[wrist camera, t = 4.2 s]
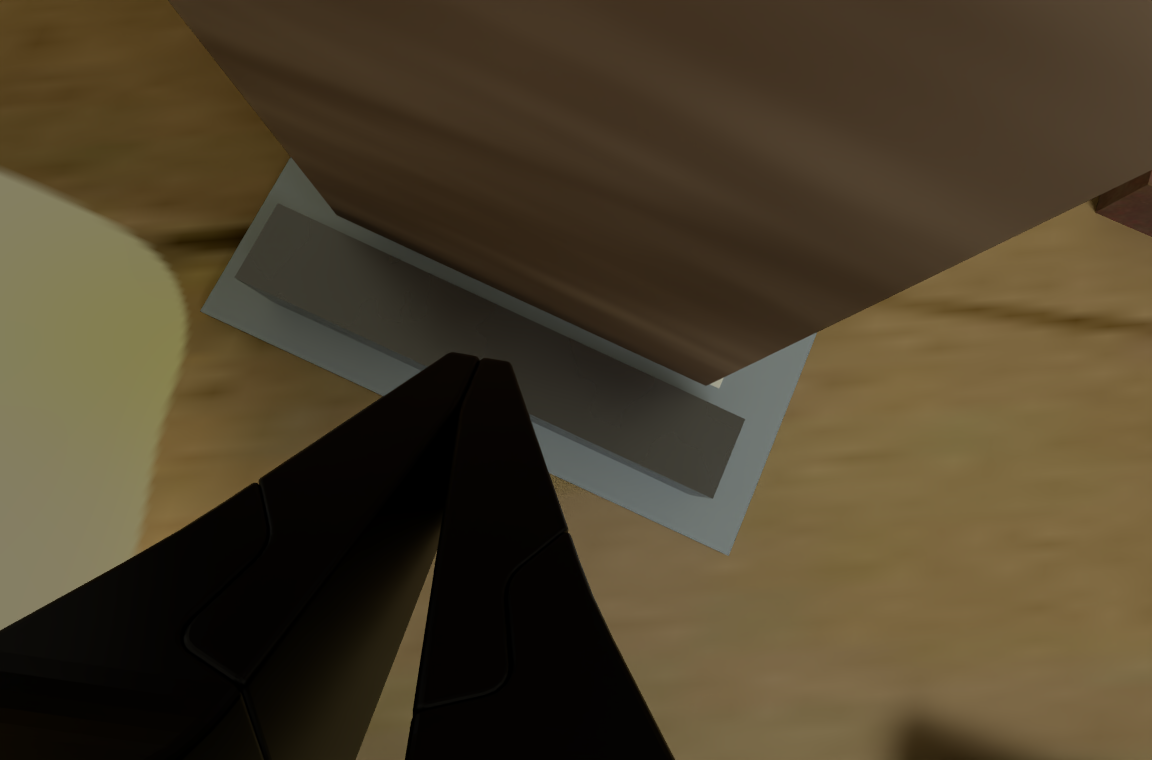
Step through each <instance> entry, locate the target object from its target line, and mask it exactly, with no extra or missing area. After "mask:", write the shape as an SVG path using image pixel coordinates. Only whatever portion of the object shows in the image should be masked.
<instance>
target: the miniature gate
mask: <svg viewBox="0 0 1152 760" xmlns="http://www.w3.org/2000/svg"><path fill="white" fill-rule="evenodd" d="M1095 213H1098V214H1100V215H1102V216H1105V217H1107V218H1109V219H1112V220H1114V221H1116V222H1119V223H1121V224H1123V225H1126V226H1128V227H1130V228H1133V229H1135V230H1137V231H1140V232H1142V233H1144V234H1147V235H1149V236H1151V237H1152V170H1150V171H1148V172H1146V173H1144V174H1142V175H1140V176H1138V177H1136V178H1134V179H1132V180H1130V181H1128V182H1126V183H1124V184H1122V185H1120V186H1117V187H1115V188H1113V189H1111V190H1109V191H1107V192H1105V193H1103V194H1101V195H1100V198H1099V201H1098V205H1097V208H1096V212H1095Z"/></svg>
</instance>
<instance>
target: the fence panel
mask: <svg viewBox="0 0 1152 760" xmlns="http://www.w3.org/2000/svg"><path fill="white" fill-rule="evenodd" d="M168 1H169V2H170V4H171V5H172V6H173V7H174V9H175V10H176V11H177V12H178V14H179V15H180V16H181V18H182V19H183V20H184V21H185V23H186V24H187V25H188V26H189V28H190V29H191V30H192V32H193V33H194V34H195V35H196V37H197V38H198V39H199V41H200V42H201V43H202V44H203V46H204V47H205V48H206V49H207V51H208V52H209V53H210V55H211V56H212V57H213V58H214V60H215V61H216V62H217V63H218V65H219V66H220V67H221V69H222V70H223V71H224V72H225V74H226V75H227V76H228V77H229V79H230V80H231V81H232V83H233V84H234V85H235V86H236V88H237V89H238V90H239V91H240V93H241V94H242V95H243V97H244V98H245V99H246V100H247V102H248V103H249V104H250V105H251V107H252V108H253V109H254V111H255V112H256V113H257V114H258V116H259V117H260V118H261V119H262V121H263V122H264V123H265V125H266V126H267V127H268V128H269V130H270V131H271V132H272V133H273V135H274V136H275V137H276V139H277V140H278V141H279V142H280V144H281V145H282V146H283V147H284V149H285V150H286V151H287V153H288V154H289V155H290V156H291V158H292V159H293V160H294V162H295V163H296V164H297V165H298V167H299V168H300V169H301V170H302V172H303V173H304V174H305V176H306V177H307V178H308V179H309V181H310V182H311V183H312V184H313V186H314V187H315V188H316V190H317V191H318V192H319V193H320V195H321V196H322V197H323V198H324V200H325V201H326V202H327V204H328V205H329V206H330V207H331V209H332V210H333V211H334V212H335V214H336V215H337V216H339V217H341V218H344V219H346V220H348V221H350V222H352V223H354V224H357V225H359V226H361V227H363V228H365V229H367V230H370V231H372V232H374V233H376V234H378V235H380V236H383V237H385V238H387V239H389V240H391V241H393V242H396V243H398V244H400V245H402V246H404V247H406V248H409V249H411V250H413V251H415V252H417V253H419V254H422V255H424V256H426V257H428V258H430V259H432V260H434V261H437V262H439V263H441V264H443V265H445V266H447V267H450V268H452V269H454V270H456V271H458V272H460V273H463V274H465V275H467V276H469V277H471V278H473V279H476V280H478V281H480V282H482V283H484V284H486V285H489V286H491V287H493V288H495V289H497V290H499V291H502V292H504V293H506V294H508V295H510V296H512V297H515V298H517V299H519V300H521V301H523V302H525V303H527V304H530V305H532V306H534V307H536V308H538V309H540V310H543V311H545V312H547V313H549V314H551V315H553V316H556V317H558V318H560V319H562V320H564V321H566V322H569V323H571V324H573V325H575V326H577V327H579V328H582V329H584V330H586V331H588V332H590V333H592V334H595V335H597V336H599V337H601V338H603V339H605V340H608V341H610V342H612V343H614V344H616V345H618V346H621V347H623V348H625V349H627V350H629V351H631V352H633V353H636V354H638V355H640V356H642V357H644V358H646V359H649V360H651V361H653V362H655V363H657V364H659V365H662V366H664V367H666V368H668V369H670V370H672V371H675V372H677V373H679V374H681V375H683V376H685V377H688V378H690V379H692V380H694V381H696V382H698V383H701V384H703V385H705V386H707V385H709V384H711V383H713V382H716V381H718V380H720V379H722V378H724V377H726V376H728V375H730V374H732V373H734V372H736V371H738V370H740V369H742V368H744V367H746V366H748V365H751V364H753V363H755V362H757V361H759V360H761V359H763V358H765V357H767V356H769V355H771V354H773V353H775V352H777V351H779V350H781V349H784V348H786V347H788V346H790V345H792V344H794V343H796V342H798V341H800V340H802V339H804V338H806V337H808V336H810V335H812V334H814V333H817V332H819V331H821V330H823V329H825V328H827V327H829V326H831V325H833V324H835V323H837V322H839V321H841V320H843V319H845V318H847V317H850V316H852V315H854V314H856V313H858V312H860V311H862V310H864V309H866V308H868V307H870V306H872V305H874V304H876V303H878V302H880V301H882V300H885V299H887V298H889V297H891V296H893V295H895V294H897V293H899V292H901V291H903V290H905V289H907V288H909V287H911V286H913V285H915V284H918V283H920V282H922V281H924V280H926V279H928V278H930V277H932V276H934V275H936V274H938V273H940V272H942V271H944V270H946V269H948V268H951V267H953V266H955V265H957V264H959V263H961V262H963V261H965V260H967V259H969V258H971V257H973V256H975V255H977V254H979V253H981V252H983V251H986V250H988V249H990V248H992V247H994V246H996V245H998V244H1000V243H1002V242H1004V241H1006V240H1008V239H1010V238H1012V237H1014V236H1016V235H1019V234H1021V233H1023V232H1025V231H1027V230H1029V229H1031V228H1033V227H1035V226H1037V225H1039V224H1041V223H1043V222H1045V221H1047V220H1049V219H1052V218H1054V217H1056V216H1058V215H1060V214H1062V213H1064V212H1066V211H1068V210H1070V209H1072V208H1074V207H1076V206H1078V205H1080V204H1082V203H1085V202H1087V201H1089V200H1091V199H1093V198H1095V197H1097V196H1099V195H1101V194H1103V193H1105V192H1107V191H1109V190H1111V189H1113V188H1115V187H1117V186H1120V185H1122V184H1124V183H1126V182H1128V181H1130V180H1132V179H1134V178H1136V177H1138V176H1140V175H1142V174H1144V173H1146V172H1148V171H1150V170H1152V0H168Z"/></svg>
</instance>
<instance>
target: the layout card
mask: <svg viewBox="0 0 1152 760" xmlns="http://www.w3.org/2000/svg"><path fill="white" fill-rule="evenodd" d="M278 203H279V204H281V205H283V206H285V207H288V208H290V209H292V210H294V211H296V212H298V213H301V214H303V215H305V216H307V217H309V218H311V219H314V220H316V221H318V222H320V223H322V224H324V225H327V226H329V227H331V228H333V229H335V230H337V231H339V232H342V233H344V234H346V235H348V236H350V237H352V238H355V239H357V240H359V241H361V242H363V243H365V244H368V245H370V246H372V247H374V248H376V249H378V250H381V251H383V252H385V253H387V254H389V255H391V256H394V257H396V258H398V259H400V260H402V261H404V262H407V263H409V264H411V265H413V266H415V267H417V268H420V269H422V270H424V271H426V272H428V273H430V274H432V275H435V276H437V277H439V278H441V279H443V280H445V281H448V282H450V283H452V284H454V285H456V286H458V287H461V288H463V289H465V290H467V291H469V292H471V293H474V294H476V295H478V296H480V297H482V298H484V299H487V300H489V301H491V302H493V303H495V304H497V305H500V306H502V307H504V308H506V309H508V310H510V311H513V312H515V313H517V314H519V315H521V316H523V317H525V318H528V319H530V320H532V321H534V322H536V323H538V324H541V325H543V326H545V327H547V328H549V329H551V330H554V331H556V332H558V333H560V334H562V335H564V336H567V337H569V338H571V339H573V340H575V341H577V342H580V343H582V344H584V345H586V346H588V347H590V348H593V349H595V350H597V351H599V352H601V353H603V354H606V355H608V356H610V357H612V358H614V359H616V360H618V361H621V362H623V363H625V364H627V365H629V366H631V367H634V368H636V369H638V370H640V371H642V372H644V373H647V374H649V375H651V376H653V377H655V378H657V379H660V380H662V381H664V382H666V383H668V384H670V385H673V386H675V387H677V388H679V389H681V390H683V391H686V392H688V393H690V394H692V395H694V396H696V397H699V398H701V399H703V400H705V401H707V402H709V403H711V404H714V405H716V406H718V407H720V408H722V409H724V410H727V411H729V412H731V413H733V414H735V415H737V416H740V417H742V418H744V419H745V421H744V424H743V426H742V429H741V431H740V434H739V436H738V439H737V441H736V443H735V446H734V448H733V451H732V453H731V456H730V458H729V461H728V463H727V466H726V468H725V471H724V473H723V475H722V478H721V480H720V483H719V485H718V488H717V490H716V493H715V495H714V498H713V499H711V498H705V497H698V496H692V495H689V494H687V493H685V492H682V491H680V490H678V489H676V488H674V487H672V486H669V485H667V484H665V483H663V482H661V481H659V480H656V479H654V478H652V477H650V476H648V475H646V474H644V473H641V472H639V471H637V470H635V469H633V468H631V467H628V466H626V465H624V464H622V463H620V462H618V461H615V460H613V459H611V458H609V457H607V456H605V455H602V454H600V453H598V452H596V451H594V450H592V449H589V448H587V447H585V446H583V445H581V444H579V443H576V442H574V441H572V440H570V439H568V438H566V437H564V436H561V435H559V434H557V433H555V432H553V431H551V430H548V429H546V428H544V427H542V426H540V425H538V424H535V423H533V422H532V425H533V428H534V431H535V434H536V437H537V439H538V442H539V445H540V448H541V451H542V454H543V457H544V460H545V463H546V466H547V469H548V472H549V473H551V474H553V475H555V476H557V477H559V478H561V479H564V480H566V481H568V482H570V483H572V484H574V485H577V486H579V487H581V488H583V489H585V490H587V491H590V492H592V493H594V494H596V495H598V496H600V497H603V498H605V499H607V500H609V501H611V502H613V503H616V504H618V505H620V506H622V507H624V508H626V509H628V510H631V511H633V512H635V513H637V514H639V515H641V516H644V517H646V518H648V519H650V520H652V521H654V522H657V523H659V524H661V525H663V526H665V527H667V528H670V529H672V530H674V531H676V532H678V533H680V534H683V535H685V536H687V537H689V538H691V539H693V540H695V541H698V542H700V543H702V544H704V545H706V546H708V547H711V548H713V549H715V550H717V551H719V552H721V553H724V554H726V555H728V556H729V553H730V551H731V548H732V546H733V543H734V541H735V538H736V536H737V533H738V531H739V528H740V526H741V523H742V521H743V518H744V516H745V513H746V511H747V508H748V505H749V503H750V500H751V498H752V495H753V493H754V490H755V488H756V485H757V483H758V480H759V478H760V475H761V473H762V470H763V468H764V465H765V463H766V460H767V457H768V455H769V452H770V450H771V447H772V445H773V442H774V440H775V437H776V435H777V432H778V430H779V427H780V425H781V422H782V420H783V417H784V415H785V412H786V410H787V407H788V404H789V402H790V399H791V397H792V394H793V392H794V389H795V387H796V384H797V382H798V379H799V377H800V374H801V372H802V369H803V367H804V364H805V362H806V359H807V356H808V354H809V351H810V349H811V346H812V344H813V341H814V339H815V336H816V334H817V333H814V334H812V335H810V336H808V337H806V338H804V339H802V340H800V341H798V342H796V343H794V344H792V345H790V346H788V347H786V348H784V349H781V350H779V351H777V352H775V353H773V354H771V355H769V356H767V357H765V358H763V359H761V360H759V361H757V362H755V363H753V364H751V365H748V366H746V367H744V368H742V369H740V370H738V371H736V372H734V373H732V374H730V375H728V376H726V377H724V378H722V379H720V380H718V381H716V382H713V383H711V384H709V385H707V386H705V385H703V384H701V383H698V382H696V381H694V380H692V379H690V378H688V377H685V376H683V375H681V374H679V373H677V372H675V371H672V370H670V369H668V368H666V367H664V366H662V365H659V364H657V363H655V362H653V361H651V360H649V359H646V358H644V357H642V356H640V355H638V354H636V353H633V352H631V351H629V350H627V349H625V348H623V347H621V346H618V345H616V344H614V343H612V342H610V341H608V340H605V339H603V338H601V337H599V336H597V335H595V334H592V333H590V332H588V331H586V330H584V329H582V328H579V327H577V326H575V325H573V324H571V323H569V322H566V321H564V320H562V319H560V318H558V317H556V316H553V315H551V314H549V313H547V312H545V311H543V310H540V309H538V308H536V307H534V306H532V305H530V304H527V303H525V302H523V301H521V300H519V299H517V298H515V297H512V296H510V295H508V294H506V293H504V292H502V291H499V290H497V289H495V288H493V287H491V286H489V285H486V284H484V283H482V282H480V281H478V280H476V279H473V278H471V277H469V276H467V275H465V274H463V273H460V272H458V271H456V270H454V269H452V268H450V267H447V266H445V265H443V264H441V263H439V262H437V261H434V260H432V259H430V258H428V257H426V256H424V255H422V254H419V253H417V252H415V251H413V250H411V249H409V248H406V247H404V246H402V245H400V244H398V243H396V242H393V241H391V240H389V239H387V238H385V237H383V236H380V235H378V234H376V233H374V232H372V231H370V230H367V229H365V228H363V227H361V226H359V225H357V224H354V223H352V222H350V221H348V220H346V219H344V218H341V217H339V216H337V215H336V214H335V212H334V211H333V210H332V209H331V207H330V206H329V205H328V204H327V202H326V201H325V200H324V198H323V197H322V196H321V195H320V193H319V192H318V191H317V190H316V188H315V187H314V186H313V184H312V183H311V182H310V181H309V179H308V178H307V177H306V176H305V174H304V173H303V172H302V170H301V169H300V168H299V167H298V165H297V164H296V163H295V162H294V160H293V159H292V158H291V157H290V159H289V161H288V162H287V164H286V166H285V168H284V169H283V171H282V173H281V174H280V176H279V178H278V179H277V181H276V183H275V185H274V186H273V188H272V190H271V191H270V193H269V195H268V196H267V198H266V200H265V202H264V203H263V205H262V207H261V208H260V210H259V212H258V213H257V215H256V217H255V219H254V220H253V222H252V224H251V225H250V227H249V229H248V231H247V232H246V234H245V236H244V237H243V239H242V241H241V242H240V244H239V246H238V248H237V249H236V251H235V253H234V254H233V256H232V258H231V259H230V261H229V263H228V265H227V266H226V268H225V270H224V271H223V273H222V275H221V276H220V278H219V280H218V282H217V283H216V285H215V287H214V288H213V290H212V292H211V293H210V295H209V297H208V299H207V300H206V302H205V304H204V305H203V307H202V309H201V310H200V311H201V312H203V313H205V314H207V315H209V316H211V317H213V318H216V319H218V320H220V321H222V322H224V323H226V324H229V325H231V326H233V327H235V328H237V329H239V330H242V331H244V332H246V333H248V334H250V335H252V336H255V337H257V338H259V339H261V340H263V341H265V342H268V343H270V344H272V345H274V346H276V347H278V348H280V349H283V350H285V351H287V352H289V353H291V354H293V355H296V356H298V357H300V358H302V359H304V360H306V361H309V362H311V363H313V364H315V365H317V366H319V367H322V368H324V369H326V370H328V371H330V372H332V373H335V374H337V375H339V376H341V377H343V378H345V379H347V380H350V381H352V382H354V383H356V384H358V385H360V386H363V387H365V388H367V389H369V390H371V391H373V392H376V393H378V394H380V395H382V396H384V395H386V394H387V393H389V392H390V391H392V390H393V389H395V388H396V387H398V386H400V385H401V384H403V383H404V382H406V381H407V380H409V379H410V378H412V377H413V376H415V375H416V374H418V373H419V372H421V370H419V369H417V368H414V367H412V366H410V365H408V364H406V363H404V362H401V361H399V360H397V359H395V358H393V357H391V356H388V355H386V354H384V353H382V352H380V351H378V350H375V349H373V348H371V347H369V346H367V345H365V344H362V343H360V342H358V341H356V340H354V339H352V338H349V337H347V336H345V335H343V334H341V333H339V332H337V331H334V330H332V329H330V328H328V327H326V326H324V325H321V324H319V323H317V322H315V321H313V320H311V319H308V318H306V317H304V316H302V315H300V314H298V313H295V312H293V311H291V310H289V309H287V308H285V307H282V306H280V305H278V304H276V303H274V302H272V301H270V300H269V299H267V298H266V297H264V296H262V295H261V294H259V293H258V292H256V291H255V290H253V289H252V288H250V287H248V286H247V285H245V284H244V283H242V282H241V281H239V280H238V279H236V278H234V277H235V276H236V274H237V272H238V270H239V269H240V267H241V265H242V264H243V262H244V260H245V258H246V257H247V255H248V253H249V252H250V250H251V248H252V246H253V245H254V243H255V241H256V240H257V238H258V236H259V234H260V233H261V231H262V229H263V228H264V226H265V224H266V222H267V221H268V219H269V217H270V216H271V214H272V212H273V210H274V209H275V207H276V205H277V204H278Z"/></svg>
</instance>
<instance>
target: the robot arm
mask: <svg viewBox="0 0 1152 760" xmlns="http://www.w3.org/2000/svg"><path fill="white" fill-rule="evenodd" d="M436 551H437V555H436V561H435V568H434V575H433V581H432V588H431V594H430V601H429V607H428V614H427V621H426V627H425V634H424V640H423V647H422V653H421V660H420V667H419V673H418V680H417V686H416V693H415V699H414V706H413V718H412V721H411V726H410V732H409V738H408V744H407V750H406V756H405V760H675V758H674V756H673V755H672V753H671V751H670V749H669V747H668V745H667V743H666V741H665V739H664V737H663V735H662V733H661V731H660V729H659V727H658V726H657V724H656V722H655V720H654V718H653V716H652V714H651V712H650V710H649V708H648V706H647V704H646V702H645V700H644V698H643V696H642V694H641V692H640V690H639V688H638V686H637V684H636V682H635V680H634V678H633V676H632V675H631V673H630V671H629V669H628V667H627V665H626V663H625V661H624V659H623V657H622V655H621V653H620V651H619V649H618V647H617V645H616V643H615V641H614V639H613V637H612V635H611V633H610V631H609V629H608V626H607V624H606V622H605V620H604V618H603V616H602V614H601V612H600V609H599V607H598V605H597V603H596V601H595V599H594V597H593V594H592V592H591V589H590V586H589V584H588V581H587V579H586V576H585V574H584V571H583V568H582V566H581V563H580V561H579V558H578V555H577V552H576V549H575V546H574V543H573V540H572V538H571V535H570V534H569V533H568V527H567V524H566V521H565V518H564V515H563V512H562V509H561V507H560V504H559V501H558V498H557V495H556V492H555V489H554V486H553V483H552V480H551V477H550V474H549V472H548V469H547V466H546V463H545V460H544V457H543V454H542V451H541V448H540V445H539V442H538V439H537V437H536V434H535V431H534V428H533V425H532V422H531V419H530V416H529V413H528V410H527V407H526V405H525V402H524V399H523V396H522V393H521V390H520V387H519V384H518V381H517V378H516V375H515V372H514V370H513V367H512V365H511V363H510V362H508V361H503V360H497V359H491V358H483V359H481V360H479V358H478V357H477V356H474V355H468V354H462V353H456V352H450V353H448V354H446V355H445V356H443V357H442V358H440V359H439V360H437V361H436V362H434V363H433V364H431V365H430V366H428V367H427V368H425V369H424V370H422V371H421V372H419V373H418V374H416V375H415V376H413V377H412V378H410V379H409V380H407V381H406V382H404V383H403V384H401V385H400V386H398V387H396V388H395V389H393V390H392V391H390V392H389V393H387V394H386V395H384V396H383V397H381V398H380V399H378V400H377V401H375V402H374V403H372V404H371V405H369V406H368V407H366V408H365V409H363V410H362V411H360V412H359V413H357V414H356V415H354V416H353V417H351V418H350V419H348V420H347V421H345V422H344V423H342V424H341V425H339V426H338V427H336V428H335V429H333V430H332V431H330V432H329V433H327V434H326V435H324V436H323V437H321V438H320V439H318V440H317V441H315V442H314V443H312V444H311V445H309V446H308V447H306V448H305V449H303V450H302V451H300V452H299V453H297V454H296V455H294V456H293V457H291V458H290V459H288V460H287V461H285V462H284V463H282V464H281V465H279V466H278V467H276V468H275V469H273V470H272V471H270V472H269V473H267V474H266V475H264V476H263V477H261V478H260V479H259V484H257V483H252V484H250V485H249V486H247V487H246V488H244V489H243V490H241V491H240V492H238V493H237V494H235V495H234V496H232V497H231V498H229V499H228V500H226V501H225V502H223V503H222V504H220V505H219V506H217V507H215V508H214V509H212V510H211V511H209V512H208V513H206V514H204V515H203V516H201V517H200V518H198V519H196V520H195V521H193V522H192V523H190V524H189V525H187V526H185V527H184V528H182V529H181V530H179V531H177V532H176V533H174V534H172V535H170V536H169V537H167V538H165V539H163V540H162V541H160V542H158V543H156V544H155V545H153V546H151V547H149V548H148V549H146V550H144V551H143V552H141V553H139V554H137V555H136V556H134V557H132V558H130V559H129V560H127V561H125V562H124V563H122V564H120V565H118V566H116V567H114V568H113V569H111V570H109V571H107V572H105V573H104V574H102V575H100V576H98V577H96V578H94V579H93V580H91V581H89V582H87V583H85V584H84V585H82V586H80V587H78V588H76V589H75V590H73V591H71V592H69V593H67V594H66V595H64V596H62V597H60V598H58V599H56V600H55V601H53V602H51V603H49V604H47V605H46V606H44V607H42V608H40V609H38V610H36V611H35V612H33V613H31V614H29V615H27V616H26V617H24V618H22V619H20V620H18V621H16V622H15V623H13V624H11V625H9V626H7V627H6V628H4V629H2V630H0V760H355V759H356V757H357V754H358V752H359V749H360V747H361V744H362V741H363V739H364V736H365V734H366V731H367V729H368V726H369V723H370V721H371V718H372V716H373V713H374V711H375V708H376V705H377V703H378V700H379V698H380V695H381V693H382V690H383V687H384V685H385V682H386V680H387V677H388V675H389V672H390V669H391V667H392V664H393V662H394V659H395V657H396V654H397V651H398V649H399V646H400V644H401V641H402V639H403V636H404V633H405V631H406V628H407V626H408V623H409V621H410V618H411V615H412V613H413V610H414V608H415V605H416V603H417V600H418V597H419V595H420V592H421V590H422V587H423V585H424V582H425V579H426V577H427V574H428V572H429V569H430V567H431V564H432V561H433V559H434V556H435V554H436Z"/></svg>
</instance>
